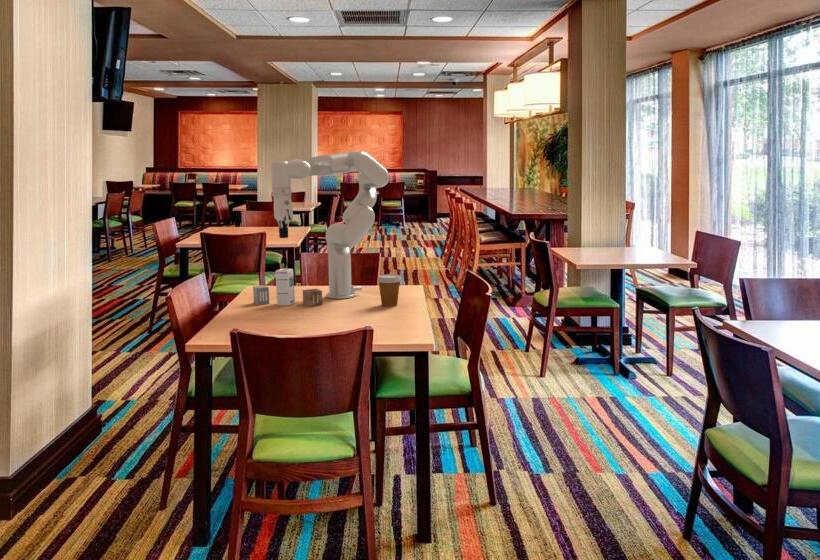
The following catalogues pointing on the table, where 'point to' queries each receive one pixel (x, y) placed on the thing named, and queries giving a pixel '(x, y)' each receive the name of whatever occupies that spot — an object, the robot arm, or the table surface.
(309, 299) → the walnut cube
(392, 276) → the disposable coffee cup
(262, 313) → the table surface
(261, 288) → the slate block
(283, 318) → the table surface
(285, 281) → the syrup box
